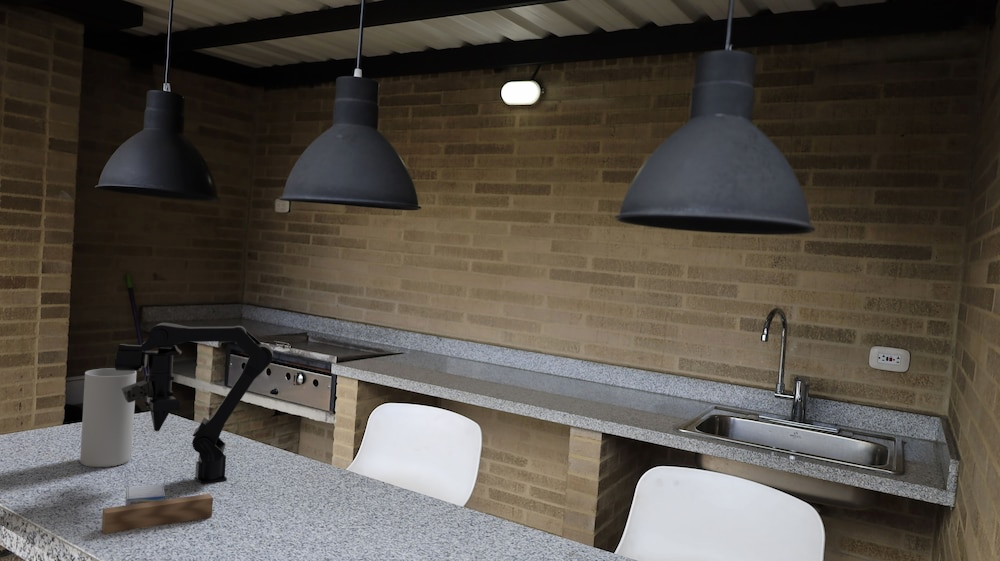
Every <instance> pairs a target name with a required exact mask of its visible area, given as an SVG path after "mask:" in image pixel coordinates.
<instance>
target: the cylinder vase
mask: <svg viewBox="0 0 1000 561" xmlns="http://www.w3.org/2000/svg"><path fill="white" fill-rule="evenodd" d="M137 372H138V371H118V370H116V369H115V367H114V368H113V367H111V368H98V369H90V370H86V371H85V372H84V383H83V384H84V387H83V401H82V402H83V404H82V423H81V441H80V454H79V455H80V457H79V460H80V463H81V464H82V465H84V466H86V467H91V468H111V466H112V467H116V466H117V465H118V466H120V465H121V464H122V465H124V464H127V463H128V462H130V460H131V459H132V456H133V455H132V454H133V439H134V438H133V437H134V423H135V422H134V420H135V406H136V400H135V401H133V402H130V403H128V402H127V401H126V400H125V397H124V394H123V391H122V388H124V387H126V386H129V385H132V384H134V383H137V374H138V373H137Z"/></svg>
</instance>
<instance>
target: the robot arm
mask: <svg viewBox="0 0 1000 561" xmlns="http://www.w3.org/2000/svg"><path fill="white" fill-rule="evenodd" d="M193 342H194V343H195V342H196V343H198V342H199V343H203V342H204V343H205V342H207V343H208V342H234V343H235V344H237V346H239V347H240V349H241V350H242V351H243V352H244V353H245V354H246V355H247V356H248V359H247V360H246V363H245V365H244V368H243V370H242V372H241V374H240V375H239V376H238V378H237V380H236V381H235V382H234V384H233V385H232V386H231V388H230V390H229V391H228V393H227V394H226V396H225V397H224V398H223V400H222V401H221V403H220V405H219V406H218V408H217V409H216V411H215V412H214V414H212V416H210V418H206V417H205V416H204V417H203V418H202V420H201V423H200V425H198V427H197V428H195V430H194V431H193V433H192V437H193V439H192V442H191V444H192V448H193V450H195V452H197V453H198V461H196V462H195V476H194V477H195V478H196V479H197V480H198V481H199V482H200V483H201V484H207V483H214V482H215V483H216V482H223V481H227V480H228V478H227V477H226V476H225V475H226V462H227V455H226V454H225V453H224V452H225V448H226V446H227V444H226V442H224V441H223V440H222V439H221V438H220V436H221V433H222V431H223V428H224V426H225V425H226V422H228V419H229V418H230V417H231V415H232V414H233V412H234V410H235V409H236V408H237V406H238V404H239V403H240V402H241V400H242V399H243V397H244V395H245V394H246V393H247V391H248V390H249V388H250V386H251V385H252V384H253V382H254V381H255V380H256V379H257V378H258V377H259V376H260V375H261V374H262V373H263V372H264V371H265V370H266V369H267V368H268V367H269V366H270V365H271V363H272V361H273V357H274V351H273V349H272V347H271V346H270V345H269V344H266V343H262V342H260V340H258V339H257V338H256V337H255V336H253V334H251V333H250V332H249V331H248V330H247V329H246V327H244V326H242V325H235V326H187V325H181V324H178V323H171V322H161V323H158V324H156V325H155V326H153V327H152V328H151V329H150V330H149V331H148V338H147V340H145V341H144V342H143V343H142V344H140V345H139V344H127V343H120V344H118V346H117V348H118V349H117V352H116V357H115V358H114V368H115V369H116V370H118V371H136V372H141V371H142V369H143V368H146V367H147V365H148V369H147V373H146V374H145V375H144V379H143V380H141V381H138V382H137V381H136V383H134V384H132V385H129V386H126V387H124V388H122V391H123V394H124V397H125V400H126V401H127V402H128V403H130V402H133V401H135V402H136V401H137V400H138V399H144V397H145V398H146V401H145V402H143V405H144V406H145V407H146V408H148V410H149V411H150V416H151V421H152V425H153V431H154V432H159V431H160V430H161V428H162V426H163V424H164V423H165V421H166V419H167V418H168V416H169V414H170V412H172V411H178V410H179V411H180V404H181V402H180V401H179V400H178V399H177V398H176V397H174V391H172V384H173V381H175V376H174V375H173V366H174V356H180V355H181V354H182V353H183V351H182V350H181V349H179V347H178V346H177V345H180V344H185V343H193ZM170 346H172V347H170ZM155 348H158V350H153V349H155Z"/></svg>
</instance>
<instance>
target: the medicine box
mask: <svg viewBox="0 0 1000 561" xmlns="http://www.w3.org/2000/svg"><path fill="white" fill-rule="evenodd" d="M125 491H126V492H125V505H132V504H139V503H146V502H154V501H161V500H166V494H165V488H164V484H163V483H161V484H159V483H158V484H149V485H139V486H138V485H137V486H129V487H128V486H126V490H125Z"/></svg>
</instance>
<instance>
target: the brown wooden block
mask: <svg viewBox="0 0 1000 561" xmlns="http://www.w3.org/2000/svg"><path fill="white" fill-rule="evenodd" d="M213 504H214V497H213V496H212V495H211V494H210V493H204V494H197V495H191V496H183V497H177V498H176V497H175V498H170V499H169V498H168V499H165V500H161V501H154V502H146V503H139V504H132V505H126V504H124V505H120V506H119V505H118V506H112V507H105V508H102V517H101V518H102V520H101V531H102V534H104V535H107V534H113V533H120V531H121V532H126V530H127V531H132V529H133V530H139V529H145V528H152V527H158V526H162V525H169V524H176V523H182V522H187V521H188V522H189V521H193V520H200V519H206V518H212V517H213ZM138 528H139V529H138Z"/></svg>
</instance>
